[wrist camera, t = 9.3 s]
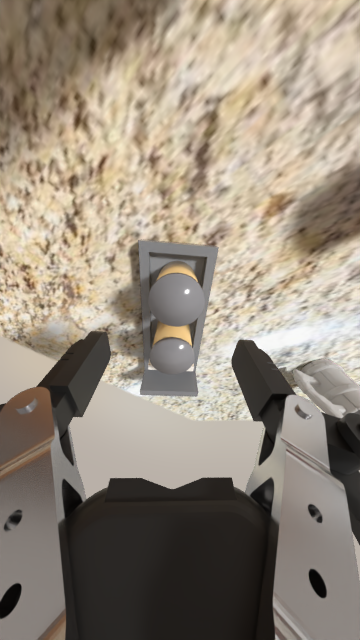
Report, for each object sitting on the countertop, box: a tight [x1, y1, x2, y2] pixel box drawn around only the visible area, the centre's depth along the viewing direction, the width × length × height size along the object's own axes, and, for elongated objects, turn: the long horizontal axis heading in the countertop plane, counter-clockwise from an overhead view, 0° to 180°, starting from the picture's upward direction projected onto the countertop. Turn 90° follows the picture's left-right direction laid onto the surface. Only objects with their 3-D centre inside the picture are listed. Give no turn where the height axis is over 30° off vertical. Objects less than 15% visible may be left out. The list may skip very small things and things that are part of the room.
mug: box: [293, 359, 360, 418], centre depth 29 cm, size 8×12×12 cm, turn 77°
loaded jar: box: [150, 320, 195, 374], centre depth 23 cm, size 6×6×8 cm
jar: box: [148, 261, 205, 327], centre depth 19 cm, size 6×6×8 cm
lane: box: [138, 239, 219, 396], centre depth 24 cm, size 24×10×6 cm, turn 175°
